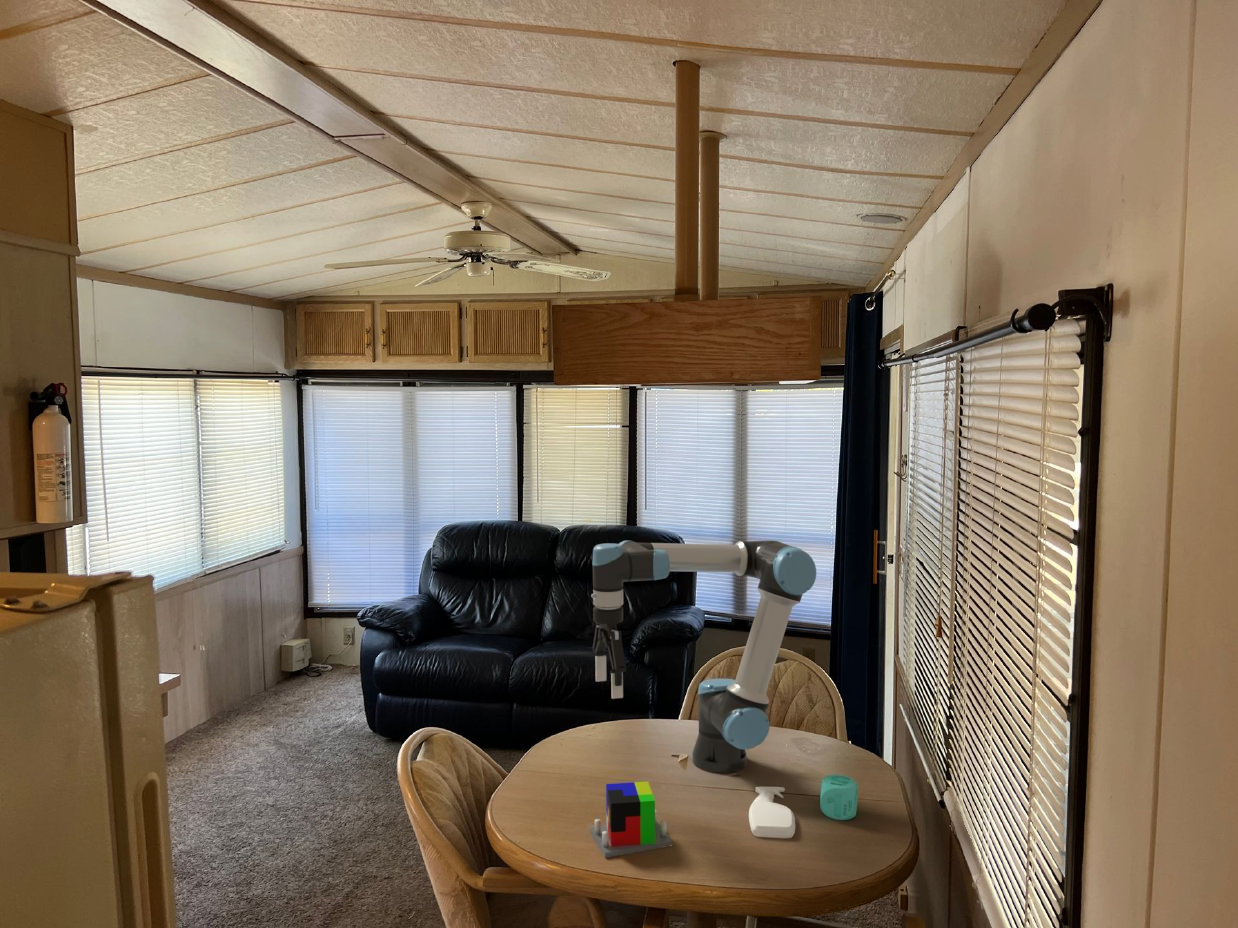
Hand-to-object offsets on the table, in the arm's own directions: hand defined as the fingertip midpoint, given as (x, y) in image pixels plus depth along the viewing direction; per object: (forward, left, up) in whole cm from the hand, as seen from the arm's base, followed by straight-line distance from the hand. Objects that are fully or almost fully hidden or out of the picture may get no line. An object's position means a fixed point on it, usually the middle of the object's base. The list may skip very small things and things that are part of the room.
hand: (608, 689), depth 218 cm
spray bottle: (-35, +20, -29) cm, 50 cm away
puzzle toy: (+2, +21, -28) cm, 34 cm away
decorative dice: (-51, +25, -29) cm, 64 cm away
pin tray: (+2, +21, -29) cm, 35 cm away
